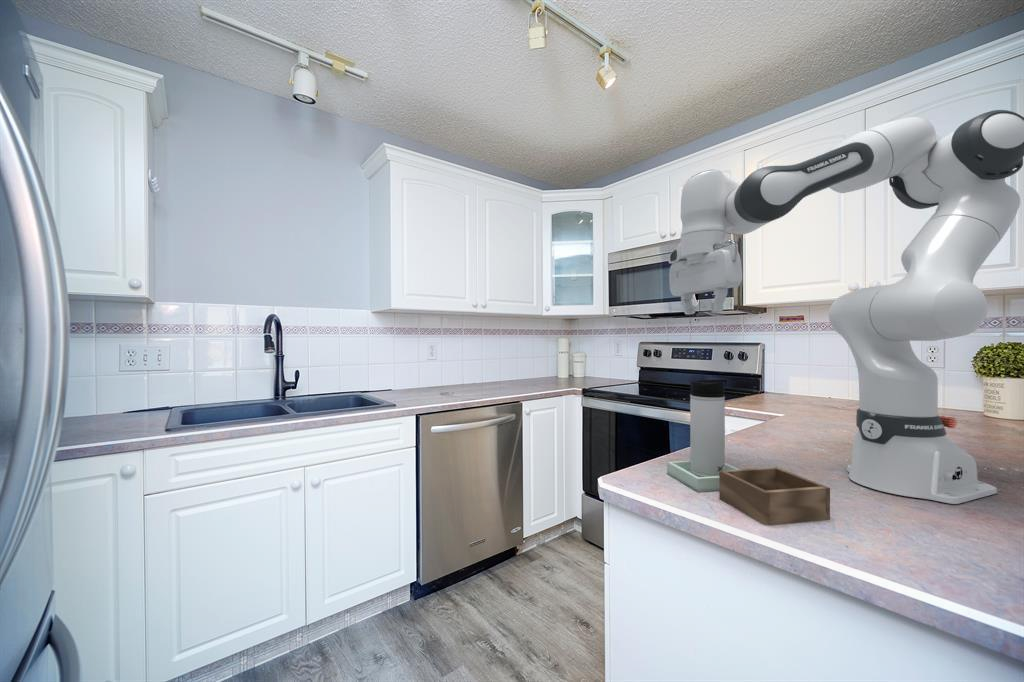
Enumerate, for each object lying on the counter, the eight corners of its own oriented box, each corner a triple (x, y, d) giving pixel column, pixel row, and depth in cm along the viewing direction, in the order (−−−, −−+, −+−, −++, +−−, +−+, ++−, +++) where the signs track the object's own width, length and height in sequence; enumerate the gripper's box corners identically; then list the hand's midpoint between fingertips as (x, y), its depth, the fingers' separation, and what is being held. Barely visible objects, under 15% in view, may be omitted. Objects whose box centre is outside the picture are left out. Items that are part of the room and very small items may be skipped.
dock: (716, 470, 89) (716, 458, 89) (752, 488, 79) (752, 475, 79) (667, 473, 87) (666, 461, 87) (697, 492, 77) (697, 478, 77)
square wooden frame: (776, 494, 76) (776, 467, 75) (829, 519, 65) (830, 487, 65) (719, 498, 74) (719, 470, 74) (765, 525, 63) (765, 492, 63)
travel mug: (730, 484, 79) (730, 380, 79) (693, 482, 80) (693, 380, 80) (721, 474, 85) (721, 377, 85) (687, 472, 86) (687, 377, 86)
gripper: (751, 237, 79) (751, 309, 79) (688, 258, 99) (688, 315, 99) (721, 236, 78) (721, 309, 78) (664, 257, 98) (664, 315, 98)
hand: (702, 313), depth 89 cm, fingers open, 8 cm apart
